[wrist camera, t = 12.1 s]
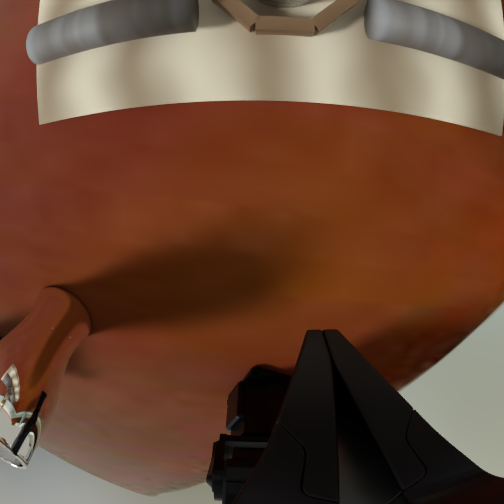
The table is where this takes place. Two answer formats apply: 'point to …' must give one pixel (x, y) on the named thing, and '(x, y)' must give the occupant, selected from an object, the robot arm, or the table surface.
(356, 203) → the table surface
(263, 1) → the metal cup
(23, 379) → the beer glass
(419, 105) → the shaft board
